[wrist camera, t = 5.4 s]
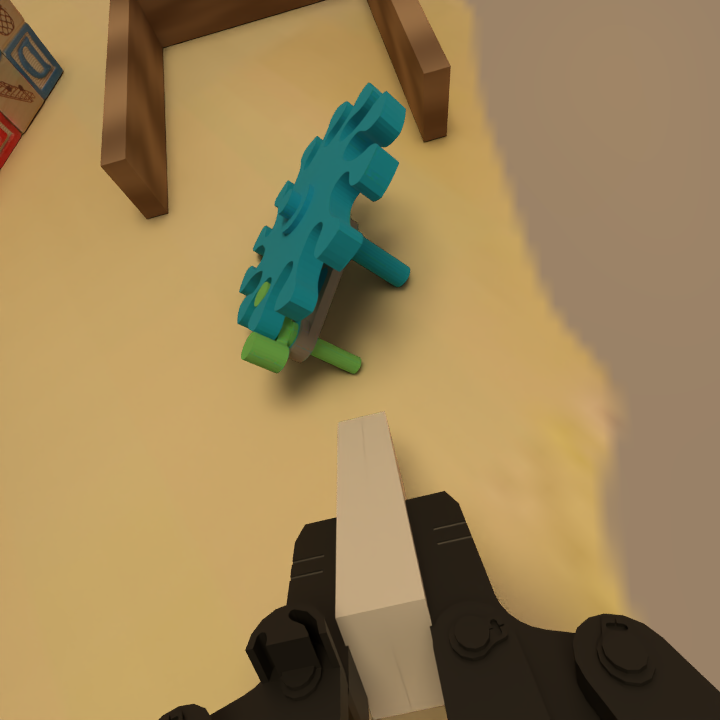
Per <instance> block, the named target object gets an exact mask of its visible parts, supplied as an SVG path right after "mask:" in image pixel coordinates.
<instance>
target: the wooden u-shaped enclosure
mask: <svg viewBox="0 0 720 720" xmlns="http://www.w3.org/2000/svg"><path fill="white" fill-rule="evenodd" d="M319 1H322V0H110V11H109V28H108V45H107V62H106V80H105V97H104V114H103V131H102V149H101V167H102V168H103V169H104V170H105V172H106V173H107V174H108V175H109V176H110V177H111V178H112V180H113V181H114V182H115V183H116V184H117V185H118V186H119V188H120V189H121V190H122V191H123V192H124V193H125V194H126V196H127V197H128V198H129V199H130V200H131V201H132V203H133V204H134V205H135V206H136V207H137V208H138V209H139V211H140V212H141V213H142V214H143V215H144V216H145V217H146V219H148V218H151V217H155V216H159V215H162V214H166V213H168V196H167V166H166V136H165V105H164V75H163V47H167V46H170V45H173V44H177V43H180V42H183V41H187V40H190V39H194V38H197V37H200V36H204V35H207V34H211V33H214V32H217V31H221V30H224V29H227V28H231V27H234V26H238V25H241V24H244V23H248V22H251V21H255V20H258V19H261V18H265V17H268V16H271V15H275V14H278V13H282V12H285V11H288V10H292V9H295V8H299V7H302V6H305V5H309V4H312V3H315V2H319ZM367 2H368V4H369V7H370V9H371V12H372V14H373V16H374V19H375V21H376V24H377V26H378V29H379V31H380V34H381V36H382V39H383V41H384V44H385V46H386V49H387V51H388V54H389V56H390V59H391V61H392V64H393V66H394V69H395V71H396V74H397V76H398V79H399V81H400V84H401V86H402V89H403V91H404V94H405V96H406V99H407V101H408V104H409V106H410V109H411V111H412V113H413V116H414V118H415V121H416V123H417V126H418V128H419V131H420V133H421V136H422V138H423V141H424V142H425V141H429V140H432V139H436V138H440V137H443V136H446V135H447V118H448V101H449V84H450V67H451V66H450V64H449V62H448V60H447V58H446V56H445V54H444V52H443V50H442V48H441V46H440V44H439V42H438V40H437V38H436V36H435V34H434V32H433V30H432V28H431V26H430V24H429V22H428V20H427V17H426V15H425V13H424V11H423V9H422V7H421V5H420V3H419V1H418V0H367Z"/></svg>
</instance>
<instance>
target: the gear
mask: <svg viewBox="0 0 720 720" xmlns="http://www.w3.org/2000/svg"><path fill="white" fill-rule="evenodd" d="M405 112H406V109H405V108H404V107H403V106H402V105H401V104H400V103H399V102H398V101H397V100H396V99H394V98H393V97H392V96H391V95H390V94H389V93H388V92H387V91H386V92H384V93H383V94H382V93H381V92H380V91H379V90H378V89H377V88H375V87H374V86H373V85H372V84H371V83H368V84H367V85H366V86H365V88H364V89H363V90H362V92H361V93H360V95H359V97H358V99H357V101H356V103H355V105H354V106H353V105H351V104H350V103H349V102H347V101H346V102H344V103H343V104H342V105H340V106H339V107H338V108H337V110H336V111H335V113H334V115H333V117H332V119H331V121H330V124H329V127H328V130H327V133H326V135H325V137H324V139H323V140H322V139H320V138H319V137H318V136H317V137H316V138H315V139H314V140H313V141H312V142H311V143H310V145H309V146H308V147H307V149H306V150H305V152H304V154H303V156H302V159H301V168H300V172H299V175H298V177H297V180H296V182H295V185H294V184H293V183H292V182H290V181H287V182H286V184H285V185H284V187H283V188H282V190H281V192H280V193H279V195H278V197H277V199H276V201H275V206H276V207H277V208H278V214H277V219H276V222H275V225H274V227H273V229H271V228H269V227H268V226H265V227H264V228H263V229H262V231H261V233H260V235H259V237H258V239H257V241H256V243H255V245H254V248H253V251H255V252H256V253H258V254H260V255H262V256H263V258H262V260H261V262H260V264H259V265H258V267H257V268H255V267H253V266H251V267H250V268H249V269H248V270H247V272H246V274H245V276H244V279H243V281H242V284H241V287H240V291H239V292H240V293H242V294H244V295H246V298H245V299H244V300H243V302H242V304H241V306H240V308H239V312H238V322H237V323H238V324H240V325H242V326H244V327H247V328H249V329H250V330H251V331H253V332H252V333H251V334H250V335H249V337H248V338H247V340H246V342H245V344H244V347H243V350H242V354H241V359H242V360H245V361H247V362H250V363H252V364H255V365H257V366H260V367H262V368H265V369H267V370H270V371H272V372H275V373H279V372H280V371H281V370H282V369H283V368H284V366H285V364H286V362H287V360H288V358H290V359H292V360H294V361H297V362H299V363H301V362H303V361H305V360H306V359H307V358H308V357H309V355H312V356H314V357H316V358H319V359H321V360H323V361H325V362H327V363H330V364H332V365H334V366H336V367H339V368H341V369H343V370H345V371H347V372H350V373H352V374H354V373H356V372H357V371H358V370H359V368H360V366H361V358H360V357H358V356H355V355H353V354H351V353H349V352H347V351H345V350H343V349H341V348H339V347H337V346H335V345H333V344H330V343H328V342H326V341H324V340H322V339H320V338H318V337H319V335H320V332H321V329H322V326H323V324H324V321H325V318H326V316H327V313H328V310H329V308H330V305H331V302H332V300H333V297H334V294H335V292H336V289H337V286H338V283H339V281H340V278H341V275H342V273H343V270H344V267H345V266H346V265H347V264H348V263H349V262H350V260H351V259H352V260H354V261H355V262H357V263H358V264H360V265H362V266H363V267H365V268H366V269H368V270H370V271H371V272H373V273H374V274H376V275H378V276H379V277H381V278H383V279H384V280H386V281H387V282H389V283H391V284H392V285H394V286H395V287H400V286H402V285H403V284H404V283H405V282H406V281H407V279H408V277H409V274H410V268H409V267H408V266H407V265H405V264H404V263H402V262H401V261H399V260H398V259H396V258H395V257H393V256H392V255H390V254H389V253H387V252H386V251H384V250H383V249H381V248H380V247H378V246H377V245H375V244H374V243H372V242H371V241H369V240H368V239H366V238H365V237H363V235H362V233H360V232H359V231H358V224H357V223H356V222H355V221H353V220H352V219H351V218H350V211H351V207H352V205H353V203H354V201H355V199H356V197H357V196H358V195H359V193H362V194H363V195H365V196H366V197H367V198H369V199H370V200H371V201H377V200H379V199H380V198H381V197H382V196H383V194H384V193H385V191H386V189H387V188H388V186H389V184H390V182H391V180H392V178H393V176H394V174H395V172H396V169H397V167H398V165H399V162H398V161H397V160H396V159H394V158H393V157H392V156H391V155H390V154H388V153H387V152H386V151H385V150H384V149H382V148H381V147H387V146H389V145H390V144H391V143H392V142H393V141H394V140H395V139H396V138H397V137H398V135H399V134H400V132H401V130H402V127H403V124H404V120H405ZM292 320H293V321H292Z"/></svg>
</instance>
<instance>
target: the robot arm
mask: <svg viewBox="0 0 720 720" xmlns="http://www.w3.org/2000/svg"><path fill="white" fill-rule="evenodd" d="M290 577H291V581H290V583H289V591H288V598H287V605H286V606H283V607H281V608H278V609H276V610H274V611H273V612H272V613H271V614H269V615H268V616H267V617H265V618H264V619H263V620H262V621H261V622H260V624H259V625H258V626H257V628H256V629H255V630H254V632H253V633H252V634H251V637H250V639H249V642H248V645H247V647H246V650H245V651H246V653H247V655H248V657H249V659H250V661H251V663H252V665H253V667H254V669H255V671H256V673H257V675H258V677H259V679H260V681H261V682H260V683H259V684H258V685H257V686H256V687H255V688H254V689H252V690H251V691H249V692H248V693H247V694H245V695H244V696H242V697H240V698H239V699H237V700H235V701H234V702H232V703H230V704H228V705H227V706H225V707H223V708H222V709H220V710H218V711H216V712H215V713H213V714H211V715H209V713H208V712H207V710H206V709H205V708H203V707H200V706H198V705H195V704H190V705H184V706H179V707H177V708H175V709H173V710H172V711H170V712H168V713H166V714H165V715H163V716H162V717H161V718H160V719H159V720H369V712H368V707H369V710H370V712H371V715H372V718H373V720H376V719H381V718H386V717H390V716H395V715H400V714H405V713H410V712H414V711H419V710H424V709H429V708H434V707H439V706H443V705H445V708H446V713H447V718H448V720H720V692H719V691H718V690H717V689H716V688H715V687H714V686H713V685H712V684H711V683H710V682H709V681H708V680H707V679H706V678H704V677H703V676H702V675H701V674H700V673H699V672H698V671H697V670H696V669H695V668H694V667H693V666H692V665H691V664H690V663H689V662H687V661H686V659H684V658H683V657H682V656H681V655H680V654H679V653H678V652H677V651H676V650H675V649H674V648H673V647H672V646H671V645H670V644H669V643H668V642H667V641H666V640H665V639H663V638H662V637H661V636H660V635H659V634H657V633H656V632H654V631H653V630H652V629H650V628H649V627H648V626H646V625H645V624H643V623H641V622H638V621H636V620H633V619H631V618H628V617H626V616H623V615H613V614H601V615H597V616H593V617H590V618H588V619H587V620H585V621H584V622H583V623H582V624H581V625H580V626H579V627H577V630H576V633H569V632H561V631H552V630H545V629H540V628H536V627H532V626H529V625H527V624H525V623H523V622H520V621H519V620H517V619H516V618H514V617H513V616H512V615H510V614H509V613H508V612H507V611H506V610H505V609H504V608H503V607H502V606H501V605H500V603H499V601H498V599H497V598H496V596H495V594H494V591H493V589H492V586H491V584H490V581H489V579H488V576H487V574H486V571H485V569H484V566H483V563H482V561H481V558H480V556H479V553H478V551H477V548H476V546H475V543H474V541H473V538H472V536H471V533H470V531H469V528H468V526H467V524H466V521H465V518H464V516H463V513H462V511H461V508H460V506H459V503H458V502H456V501H455V500H454V499H453V498H452V497H451V496H450V495H448V494H447V493H446V492H445V491H443V492H439V493H434V494H430V495H426V496H421V497H417V498H413V499H408V500H407V499H406V495H405V490H404V486H403V481H402V477H401V473H400V469H399V465H398V461H397V457H396V454H395V450H394V446H393V442H392V438H391V434H390V430H389V426H388V422H387V418H386V414H385V411H383V412H379V413H375V414H370V415H366V416H362V417H358V418H354V419H350V420H345V421H341V422H338V451H337V517H336V518H332V519H327V520H323V521H319V522H314V523H310V524H306V525H305V526H304V528H303V529H302V531H301V533H300V535H299V536H298V538H297V540H296V542H295V546H294V554H293V565H292V569H291V576H290Z"/></svg>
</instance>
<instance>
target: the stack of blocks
mask: <svg viewBox="0 0 720 720" xmlns="http://www.w3.org/2000/svg"><path fill="white" fill-rule="evenodd" d="M62 72H63V69H62V68H61V67H60V65H59V64H58V63H57V61H56V60H55V59H54V58H53V56H52V55H51V54H50V52H49V51H48V50H47V48H46V47H45V46H44V44H43V43H42V42H41V41H40V39H39V38H38V37H37V35H36V34H35V33H34V31H33V30H32V29H31V27H30V26H29V25H28V24H27V23H26V22H25V21H24V19H23V17H22V15H21V14H20V13H19V11H18V10H17V9H16V8H15V6H14V5H13V4H12V2H11V1H10V0H0V168H1V167H2V166H3V165H4V163H5V162H6V160H7V158H8V157H9V155H10V154H11V152H12V150H13V149H14V147H15V146H16V144H17V142H18V141H19V139H20V138H21V134H23V133H24V132H25V131H26V129H27V127H28V126H29V124H30V122H31V121H32V119H33V118H34V116H35V115H36V113H37V112H38V110H39V108H40V107H41V105H42V104H43V102H44V100H45V99H46V98H47V96H48V95H49V93H50V92H51V90H52V88H53V87H54V85H55V84H56V82H57V80H58V78H59V77H60V76H61V74H62Z"/></svg>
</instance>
